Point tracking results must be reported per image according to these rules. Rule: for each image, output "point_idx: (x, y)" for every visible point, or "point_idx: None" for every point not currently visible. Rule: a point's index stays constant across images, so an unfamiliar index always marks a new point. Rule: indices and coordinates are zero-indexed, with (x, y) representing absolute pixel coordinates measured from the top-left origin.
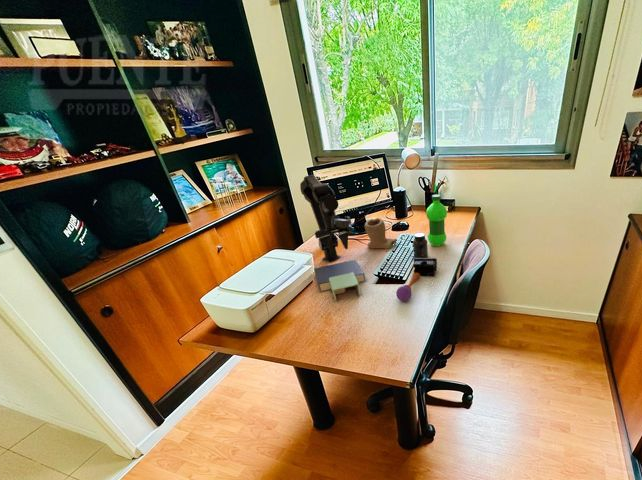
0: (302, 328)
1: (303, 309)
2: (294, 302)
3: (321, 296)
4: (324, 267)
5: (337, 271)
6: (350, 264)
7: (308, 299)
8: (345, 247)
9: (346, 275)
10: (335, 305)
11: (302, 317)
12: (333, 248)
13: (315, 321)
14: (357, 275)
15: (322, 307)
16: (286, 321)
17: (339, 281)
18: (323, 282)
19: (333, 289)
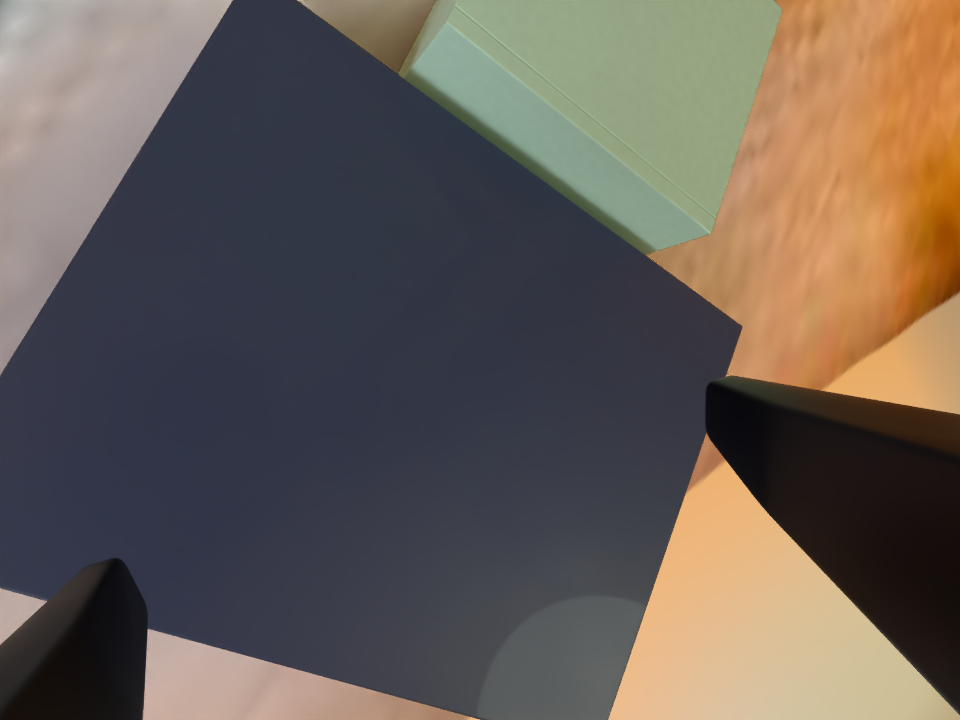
0: (916, 55)
1: (841, 228)
2: (838, 374)
3: (699, 258)
4: (501, 675)
5: (464, 398)
6: (167, 431)
7: (772, 317)
8: (129, 638)
9: (557, 58)
10: None
11: (878, 151)
12: (786, 399)
13: (857, 29)
14: (351, 45)
15: (767, 113)
16: (934, 210)
17: (676, 51)
18: (705, 303)
19: (777, 8)
